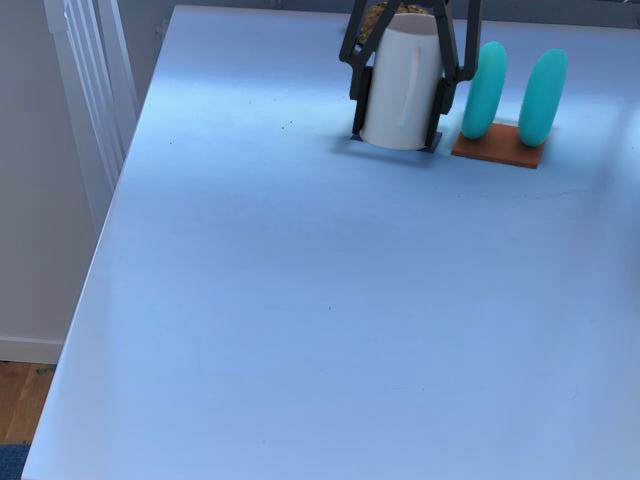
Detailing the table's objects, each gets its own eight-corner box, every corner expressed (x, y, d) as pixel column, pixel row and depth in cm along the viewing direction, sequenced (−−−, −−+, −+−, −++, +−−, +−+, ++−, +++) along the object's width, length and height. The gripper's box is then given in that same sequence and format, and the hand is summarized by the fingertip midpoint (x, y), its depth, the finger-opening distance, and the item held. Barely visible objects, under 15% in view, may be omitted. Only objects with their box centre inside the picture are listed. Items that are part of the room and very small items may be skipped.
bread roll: (438, 33, 143) (446, -6, 139) (427, 58, 135) (436, 18, 131) (354, 23, 145) (360, -15, 141) (339, 47, 137) (345, 7, 133)
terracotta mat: (547, 135, 116) (548, 131, 116) (536, 168, 110) (537, 164, 109) (466, 122, 119) (467, 118, 118) (450, 154, 112) (451, 149, 112)
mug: (428, 166, 108) (455, 48, 99) (354, 158, 109) (373, 41, 100) (431, 128, 116) (456, 15, 107) (362, 121, 117) (381, 9, 108)
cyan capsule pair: (461, 120, 118) (483, 28, 110) (543, 130, 116) (571, 38, 109) (455, 150, 111) (478, 55, 104) (542, 161, 110) (572, 65, 102)
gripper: (549, -100, 95) (486, 139, 112) (348, -121, 100) (317, 111, 117) (540, -84, 90) (476, 162, 107) (330, -107, 95) (300, 132, 112)
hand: (393, 135), depth 112 cm, fingers closed on mug, 8 cm apart
